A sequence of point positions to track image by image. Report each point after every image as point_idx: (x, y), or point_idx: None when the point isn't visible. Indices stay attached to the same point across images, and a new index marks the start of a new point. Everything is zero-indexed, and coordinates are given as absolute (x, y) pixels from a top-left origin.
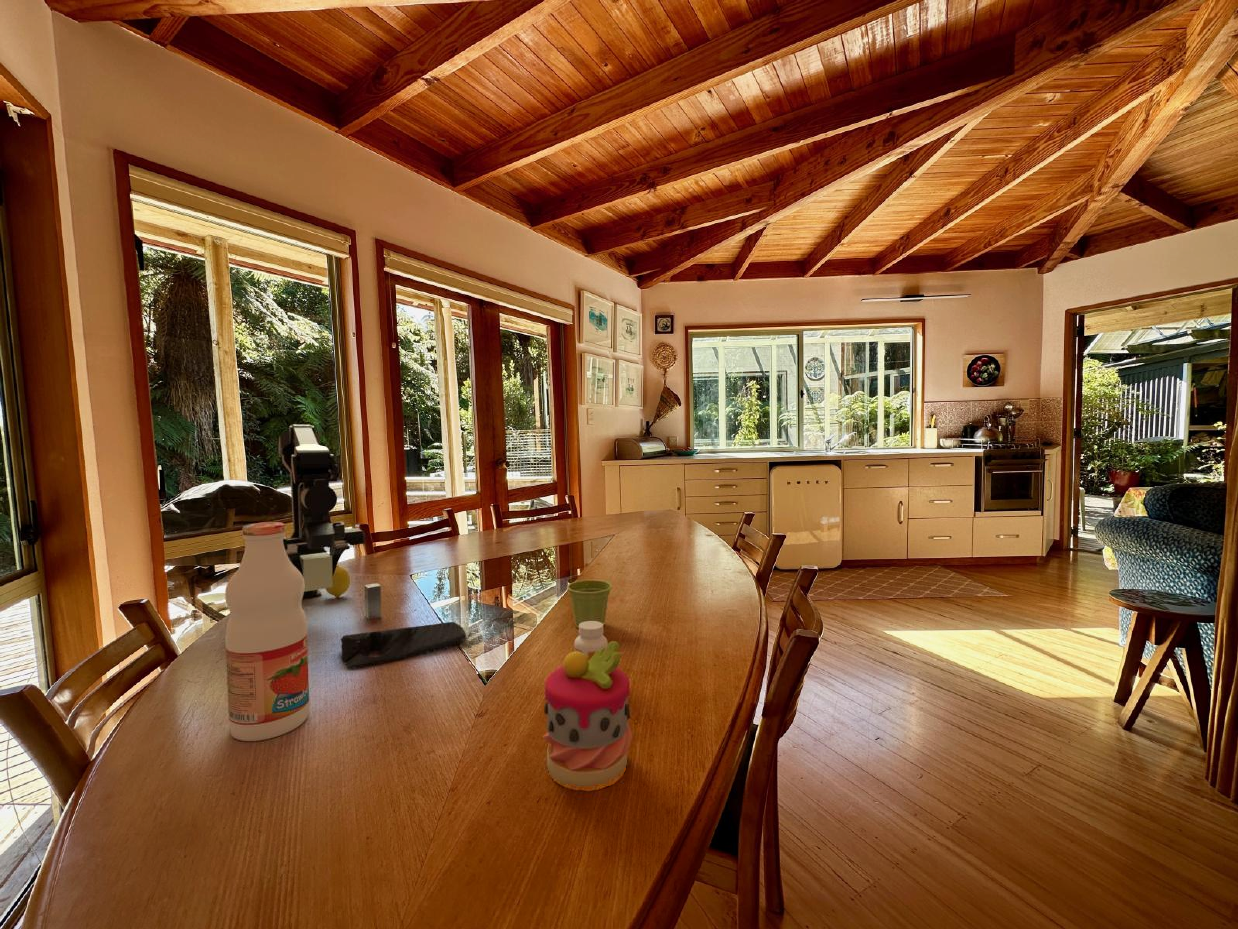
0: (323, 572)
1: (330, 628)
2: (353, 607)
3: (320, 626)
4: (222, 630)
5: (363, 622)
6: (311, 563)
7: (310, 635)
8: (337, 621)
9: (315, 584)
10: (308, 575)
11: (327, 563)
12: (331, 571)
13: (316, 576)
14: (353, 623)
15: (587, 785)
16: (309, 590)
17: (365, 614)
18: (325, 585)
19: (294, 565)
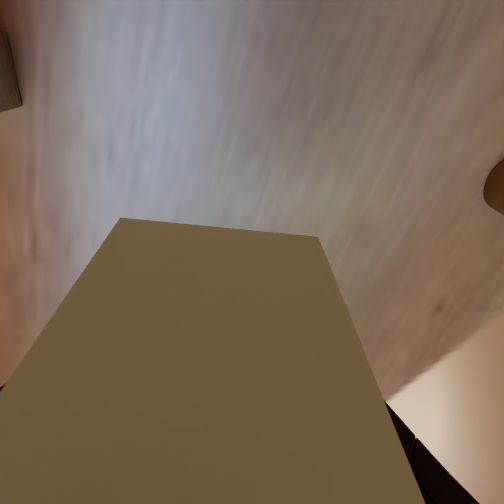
0: (159, 314)
1: (206, 47)
2: (66, 271)
3: (235, 120)
4: (474, 317)
5: (36, 8)
6: (301, 453)
7: (314, 8)
8: (155, 136)
9: (245, 254)
10: (312, 320)
11: (65, 407)
12: (69, 308)
13: (235, 297)
14: (90, 37)
15: None
16: (287, 235)
17: (14, 105)
18: (169, 235)
19: (462, 489)
